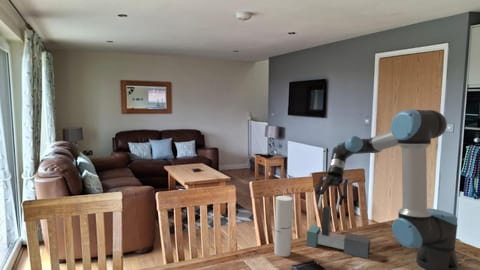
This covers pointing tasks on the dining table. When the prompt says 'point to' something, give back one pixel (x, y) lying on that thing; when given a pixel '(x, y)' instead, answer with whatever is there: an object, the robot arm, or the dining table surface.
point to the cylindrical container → (283, 226)
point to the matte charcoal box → (357, 245)
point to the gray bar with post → (325, 235)
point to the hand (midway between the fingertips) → (327, 209)
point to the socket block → (312, 235)
